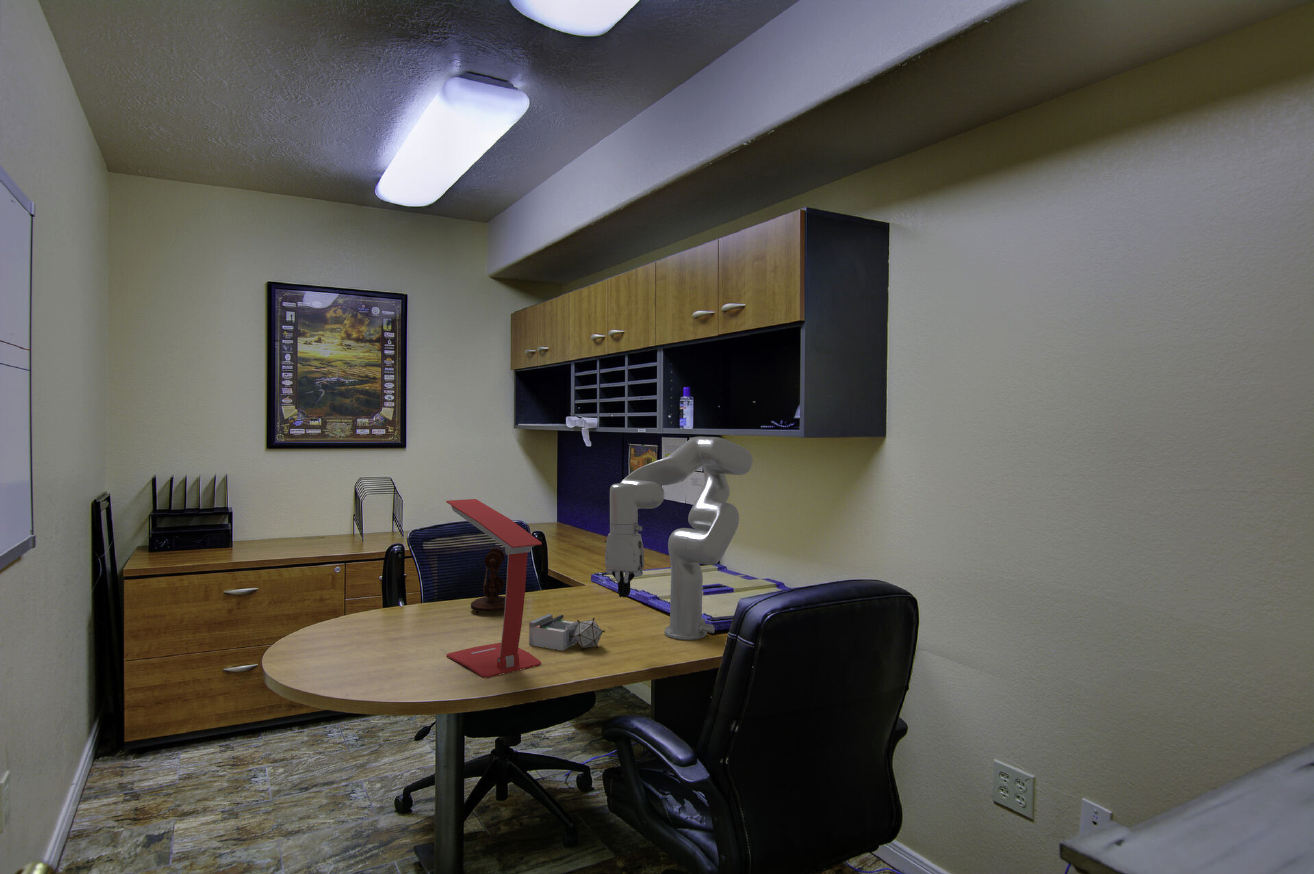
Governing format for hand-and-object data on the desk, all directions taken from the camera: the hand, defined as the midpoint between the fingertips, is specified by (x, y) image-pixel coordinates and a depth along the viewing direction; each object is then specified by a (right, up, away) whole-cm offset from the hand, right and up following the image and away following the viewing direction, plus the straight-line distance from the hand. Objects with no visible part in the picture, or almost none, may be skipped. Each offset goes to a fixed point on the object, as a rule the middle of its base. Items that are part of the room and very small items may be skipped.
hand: (624, 595), depth 192 cm
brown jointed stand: (-45, -14, +41) cm, 62 cm away
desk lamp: (-36, -15, -5) cm, 39 cm away
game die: (-10, -16, +4) cm, 19 cm away
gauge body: (-20, -15, +8) cm, 26 cm away
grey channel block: (-18, -14, +7) cm, 24 cm away
